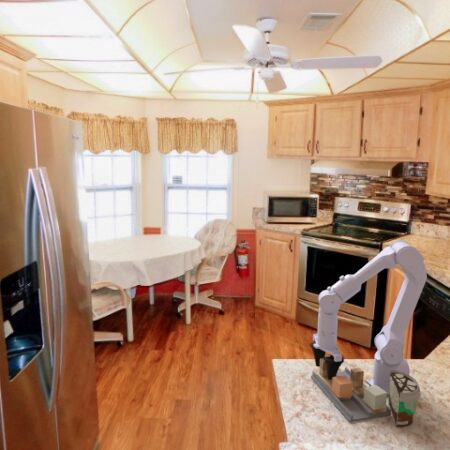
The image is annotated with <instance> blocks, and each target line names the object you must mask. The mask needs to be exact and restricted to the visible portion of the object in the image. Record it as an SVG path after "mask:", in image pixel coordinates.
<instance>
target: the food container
mask: <svg viewBox="0 0 450 450" xmlns="http://www.w3.org/2000/svg"><path fill="white" fill-rule="evenodd" d="M389 376H390V382H389V395H388V404H387V406H388V407H389V408H390V409H391V416H392V419H393V422H394V425H395V427H396V428H408V427H409V426H411V425H412V424H413V422H414V416H415V411H416V405H417V400H419V398H420V397H421V387H420V385H419V382H418V381H417V380H416V379H415V377H412V376H411V375H410V374H409V375H408V374H405V373H403V372H400V371H396V370H390V373H389Z"/></svg>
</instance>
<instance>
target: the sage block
mask: <svg viewBox="0 0 450 450" xmlns="http://www.w3.org/2000/svg"><path fill="white" fill-rule="evenodd" d="M387 396H388V395H387V392H385V391H384V390H383V389H381V388H380V387H378V386H377V385H373V386H371V385H369V386H367V387H366V388H364V401H363V402H365V403H366V404H367V405H369V406H370V407H371V408H372V409H374V410H376V409H379V408H382V407H386V405H387V400H388V399H387Z"/></svg>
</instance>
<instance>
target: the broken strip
mask: <svg viewBox="0 0 450 450" xmlns="http://www.w3.org/2000/svg"><path fill="white" fill-rule="evenodd" d="M350 371H351V374H350V381H351V382H352V383H353V390H352V391H353V392H354V393H355V394H356V395H357V396H358V397H359V398H361V397H364V388H365V387H364V386H363V383H364V377H365V376H364V374H365V371H364V370H363V368H361V367H354V368H350ZM362 401H364V399H362ZM364 403H365V402H364ZM365 404H366V403H365ZM366 405H367V404H366ZM367 406H368V407H369V408H370V409H371V410H372V411H373V414H378V413H385V412H387V408H386V407H382V408H379V409H376V410H374V409H372V408H371V407H370V406H369V405H367Z"/></svg>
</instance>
